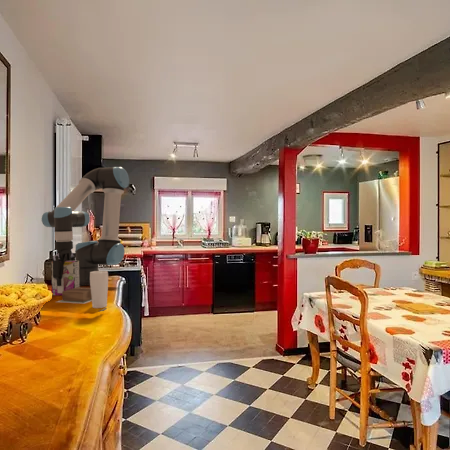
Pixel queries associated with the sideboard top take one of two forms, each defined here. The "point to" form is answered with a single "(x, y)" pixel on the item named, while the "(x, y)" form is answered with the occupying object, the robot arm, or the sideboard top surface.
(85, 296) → the walnut block
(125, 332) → the sideboard top surface
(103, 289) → the drinking glass
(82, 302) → the board
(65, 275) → the candy bar box
